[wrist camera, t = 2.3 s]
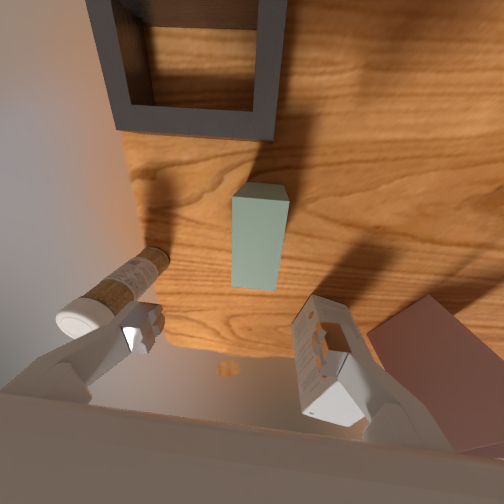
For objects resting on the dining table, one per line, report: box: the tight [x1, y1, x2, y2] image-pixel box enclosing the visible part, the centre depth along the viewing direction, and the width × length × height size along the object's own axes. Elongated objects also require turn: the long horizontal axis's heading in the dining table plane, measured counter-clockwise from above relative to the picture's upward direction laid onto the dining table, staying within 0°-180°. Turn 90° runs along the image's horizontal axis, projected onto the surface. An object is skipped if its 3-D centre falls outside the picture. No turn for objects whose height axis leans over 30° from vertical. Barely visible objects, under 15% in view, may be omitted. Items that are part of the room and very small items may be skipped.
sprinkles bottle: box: [56, 247, 169, 339], centre depth 23 cm, size 5×5×14 cm
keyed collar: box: [85, 0, 288, 143], centre depth 16 cm, size 15×10×4 cm
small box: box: [291, 294, 374, 427], centre depth 26 cm, size 8×6×13 cm
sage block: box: [231, 182, 290, 291], centre depth 20 cm, size 4×9×9 cm, turn 176°
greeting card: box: [367, 294, 504, 458], centre depth 23 cm, size 11×7×15 cm, turn 112°
